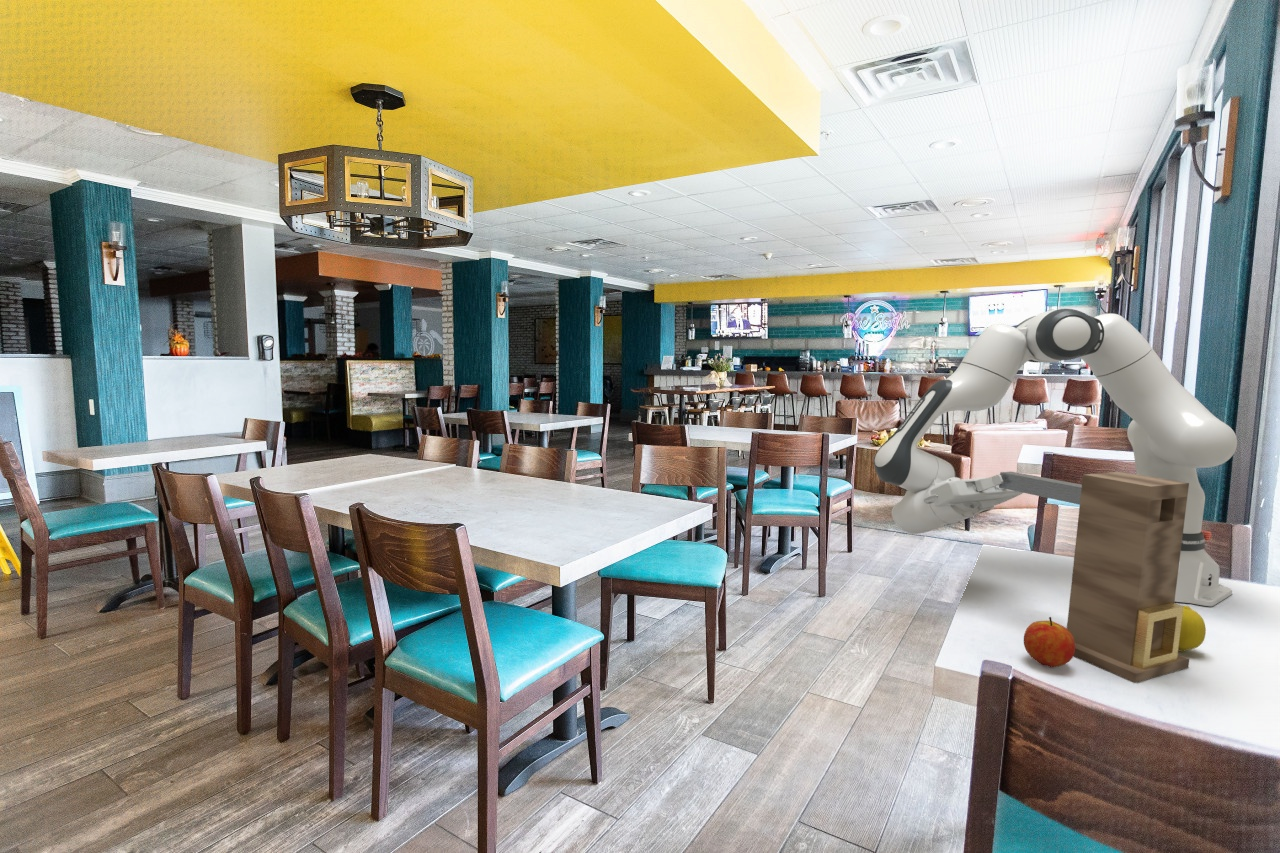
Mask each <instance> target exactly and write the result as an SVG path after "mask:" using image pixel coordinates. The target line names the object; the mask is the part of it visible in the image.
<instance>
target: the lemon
mask: <svg viewBox="0 0 1280 853" xmlns="http://www.w3.org/2000/svg"><path fill="white" fill-rule="evenodd" d="M1183 606H1184V607H1183V615H1182V623H1181V631H1180V639H1179V647H1178V652H1185V651H1187V650H1193V649H1197V648H1198V647H1199V646H1201V645H1202V644H1203V642H1204V641H1205V638H1206V631H1207V629H1206V628H1207V627H1206V623H1205V621H1204V618H1203V617H1202V615H1201V614H1199V613H1198V612H1197V611H1196V610H1194V609H1192V608H1191V607H1190V606H1188V605H1183Z"/></svg>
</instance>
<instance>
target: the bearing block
mask: <svg viewBox="0 0 1280 853" xmlns="http://www.w3.org/2000/svg"><path fill="white" fill-rule="evenodd" d="M1081 481H1082V482H1081V485H1082V488H1081V498H1080V505H1079V509H1078V519H1077V528H1076V536H1075V537H1076V538H1075V547H1074V556H1073V566H1072V573H1071V574H1072V576H1071V585H1070V593H1069V603H1068V604H1069V605H1068V613H1067V623H1066V624H1067V625H1066V629H1068V630H1069V631H1070V633H1071V634H1072V636H1073V638H1074V642H1075V653H1074V656H1073V657H1074V658H1076V659H1079V660H1081V661H1084V662H1085V663H1088V664H1090V665H1092V666H1094V667H1097V668H1099V669H1102V670H1104V671H1106V672H1109V673H1110V674H1112V675H1113V674H1114V675H1116V676H1118V677H1120V678H1122V679H1124V680H1127V681H1129V682H1132V683H1134V684H1137V683H1141V682H1144V681H1147V680H1150V679H1154V678H1157V677H1160V676H1164V675H1168V674H1171V673H1172V674H1173V673H1176V672H1178V671H1181V670H1185V669H1188V668H1189V666H1190V658H1188V657H1185V656H1183V655H1180V654H1178V655H1177V660H1176V661H1172V662H1169V663H1165V664H1161V665H1158V666H1154V667H1151V668H1147V669H1143V670H1142V669H1140V668H1137V667H1135V666H1132V660H1133V651H1134V643H1135V634H1136V626H1137V617H1138V610H1141V609H1146V608H1150V607H1155V606H1160V605H1164V604H1169V603H1175V602H1174V601H1175V593H1176V585H1177V577H1178V569H1179V561H1180V553H1181V545H1182V537H1183V528H1184V520H1185V512H1186V504H1187V496H1188V488H1189V483H1186V482H1180V481H1174V480H1168V479H1162V478H1155V477H1149V476H1143V475H1137V473H1130V472H1125V471H1113V472H1100V473H1086V474H1082V480H1081ZM1164 625H1165V619H1164V620H1160V621H1155V622H1154V626H1153V634H1152V642H1151V651H1155V650H1159V649H1162V641H1163V633H1164ZM1151 651H1150V652H1151Z"/></svg>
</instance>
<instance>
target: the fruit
mask: <svg viewBox="0 0 1280 853" xmlns="http://www.w3.org/2000/svg"><path fill="white" fill-rule="evenodd" d="M1048 619H1049V620H1039V621H1034V622H1032V623H1031V624H1029V625H1028V627H1026V630H1025V631H1024V634H1023V645H1024V648H1025V650H1026V652H1027V654H1028V655H1029V657H1031V658H1032V659H1033V660H1034V661H1035V662H1037V663H1038V664H1039V665H1041V666H1043V667H1049V668H1056V667H1061V666H1064V665H1065V664H1068V663H1070V661H1071V660H1072V659H1073V657H1074V653H1075V642H1074V638H1073V636H1072V634H1071V633H1070V631H1069V630H1068V629H1067V627H1065V626H1064V625H1062V624H1060V623H1057V622H1055V621H1052V617H1051V616H1049V617H1048Z"/></svg>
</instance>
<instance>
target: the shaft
mask: <svg viewBox="0 0 1280 853" xmlns="http://www.w3.org/2000/svg"><path fill="white" fill-rule="evenodd" d="M999 475H1004V476H1005V479H1006V483H1005V484H1002V485H999V488H1004V489H1008V490H1013V491H1018V492H1022V494H1028V495H1032V496H1037V497H1042V498H1047V499H1050V500H1051V499H1052V500H1056V501H1061V502H1065V503H1070V504H1075V505H1079V506H1080V498H1081V488H1082V483H1081V484H1080V483H1076V482H1070V481H1064V480H1060V479H1059V480H1058V479H1053V478H1048V477H1042V476H1037V475H1032V474H1026V473H1021V472H1015V471H1001V472H1000V473H999Z"/></svg>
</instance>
